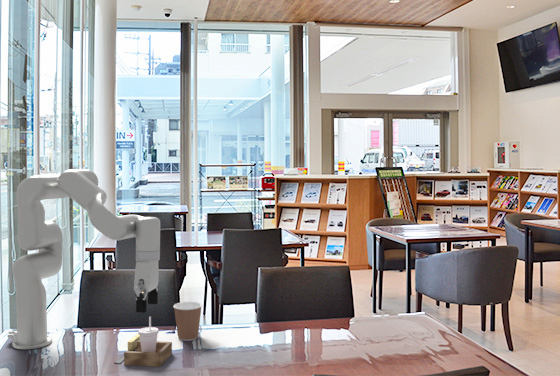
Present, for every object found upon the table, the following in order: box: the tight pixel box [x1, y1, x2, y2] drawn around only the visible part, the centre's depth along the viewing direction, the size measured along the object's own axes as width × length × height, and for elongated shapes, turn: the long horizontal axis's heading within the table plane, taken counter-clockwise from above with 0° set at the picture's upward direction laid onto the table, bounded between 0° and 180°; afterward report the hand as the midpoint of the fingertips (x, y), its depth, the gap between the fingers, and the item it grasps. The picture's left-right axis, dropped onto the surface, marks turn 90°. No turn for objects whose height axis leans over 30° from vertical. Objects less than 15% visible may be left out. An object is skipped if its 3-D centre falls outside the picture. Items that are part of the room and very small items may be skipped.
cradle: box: [113, 340, 173, 368], centre depth 179 cm, size 15×20×4 cm
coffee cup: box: [172, 301, 203, 342], centre depth 196 cm, size 10×10×12 cm
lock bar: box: [127, 333, 140, 351], centre depth 185 cm, size 2×10×3 cm, turn 173°
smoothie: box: [137, 316, 159, 352], centre depth 174 cm, size 6×6×14 cm
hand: (147, 307), depth 174 cm, fingers open, 9 cm apart
